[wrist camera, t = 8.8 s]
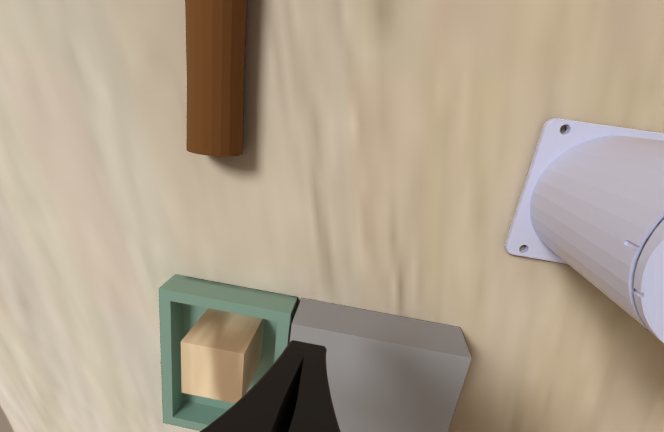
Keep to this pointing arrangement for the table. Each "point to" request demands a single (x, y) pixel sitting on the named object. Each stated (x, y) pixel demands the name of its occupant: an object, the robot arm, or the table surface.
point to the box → (182, 314)
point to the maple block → (221, 355)
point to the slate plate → (386, 367)
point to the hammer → (215, 76)
